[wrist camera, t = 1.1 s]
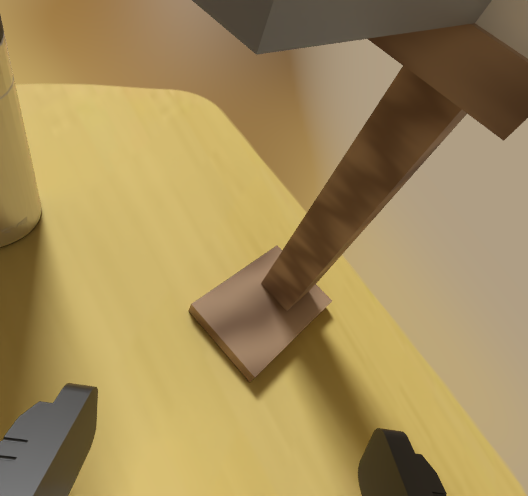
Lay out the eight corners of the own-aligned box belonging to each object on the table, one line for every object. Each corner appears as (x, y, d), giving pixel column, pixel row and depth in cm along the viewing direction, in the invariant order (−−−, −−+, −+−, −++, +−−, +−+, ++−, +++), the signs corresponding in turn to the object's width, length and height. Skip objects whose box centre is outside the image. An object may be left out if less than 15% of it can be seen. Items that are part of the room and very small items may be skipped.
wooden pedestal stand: (188, 310, 35) (435, -323, 9) (272, 252, 43) (532, -166, 17) (249, 382, 33) (823, -164, 6) (326, 306, 41) (719, -74, 15)
